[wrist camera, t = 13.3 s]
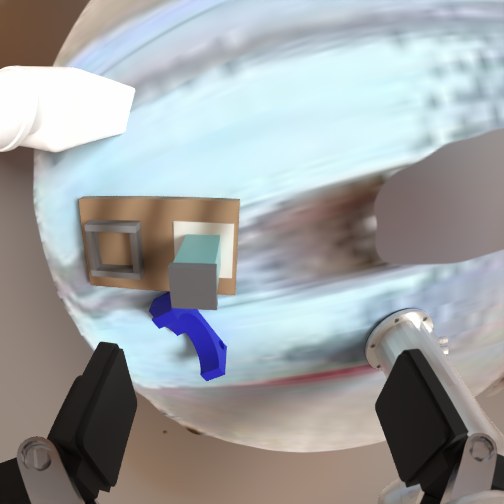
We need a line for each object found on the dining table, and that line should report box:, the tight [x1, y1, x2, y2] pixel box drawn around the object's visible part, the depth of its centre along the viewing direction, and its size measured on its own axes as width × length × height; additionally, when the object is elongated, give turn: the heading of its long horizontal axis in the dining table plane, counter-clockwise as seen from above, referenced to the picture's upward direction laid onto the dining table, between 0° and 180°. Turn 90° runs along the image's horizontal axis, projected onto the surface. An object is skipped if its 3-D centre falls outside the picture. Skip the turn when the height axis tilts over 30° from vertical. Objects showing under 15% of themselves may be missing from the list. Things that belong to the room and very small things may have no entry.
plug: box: [168, 234, 221, 310], centre depth 32 cm, size 4×4×9 cm
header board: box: [79, 196, 240, 295], centre depth 36 cm, size 20×12×4 cm, turn 86°
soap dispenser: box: [0, 66, 135, 152], centre depth 21 cm, size 6×6×22 cm
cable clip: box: [149, 291, 227, 381], centre depth 40 cm, size 12×4×6 cm, turn 29°
